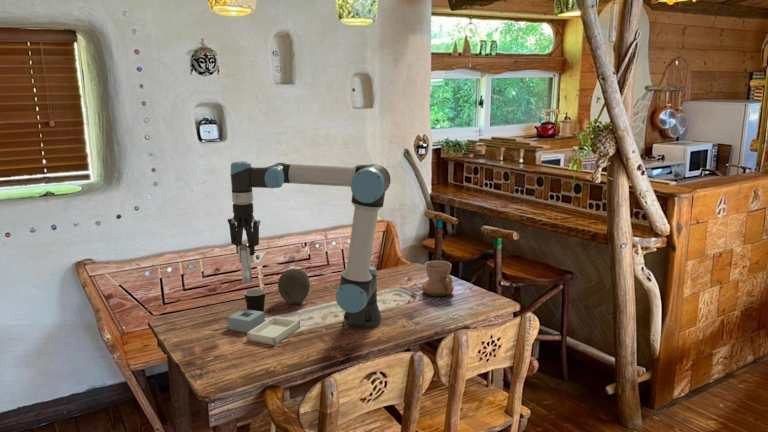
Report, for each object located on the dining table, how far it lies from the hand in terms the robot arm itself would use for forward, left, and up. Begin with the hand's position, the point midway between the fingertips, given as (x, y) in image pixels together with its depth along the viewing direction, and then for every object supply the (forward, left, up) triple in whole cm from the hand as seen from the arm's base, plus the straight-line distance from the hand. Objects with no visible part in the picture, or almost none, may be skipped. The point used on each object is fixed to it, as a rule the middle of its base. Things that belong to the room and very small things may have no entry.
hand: (246, 262), depth 227 cm
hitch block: (+1, 0, -26) cm, 26 cm away
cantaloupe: (-2, -31, -26) cm, 41 cm away
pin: (0, 0, -8) cm, 8 cm away
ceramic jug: (-57, -66, -26) cm, 91 cm away
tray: (-13, +2, -26) cm, 29 cm away
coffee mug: (+5, -13, -26) cm, 30 cm away
